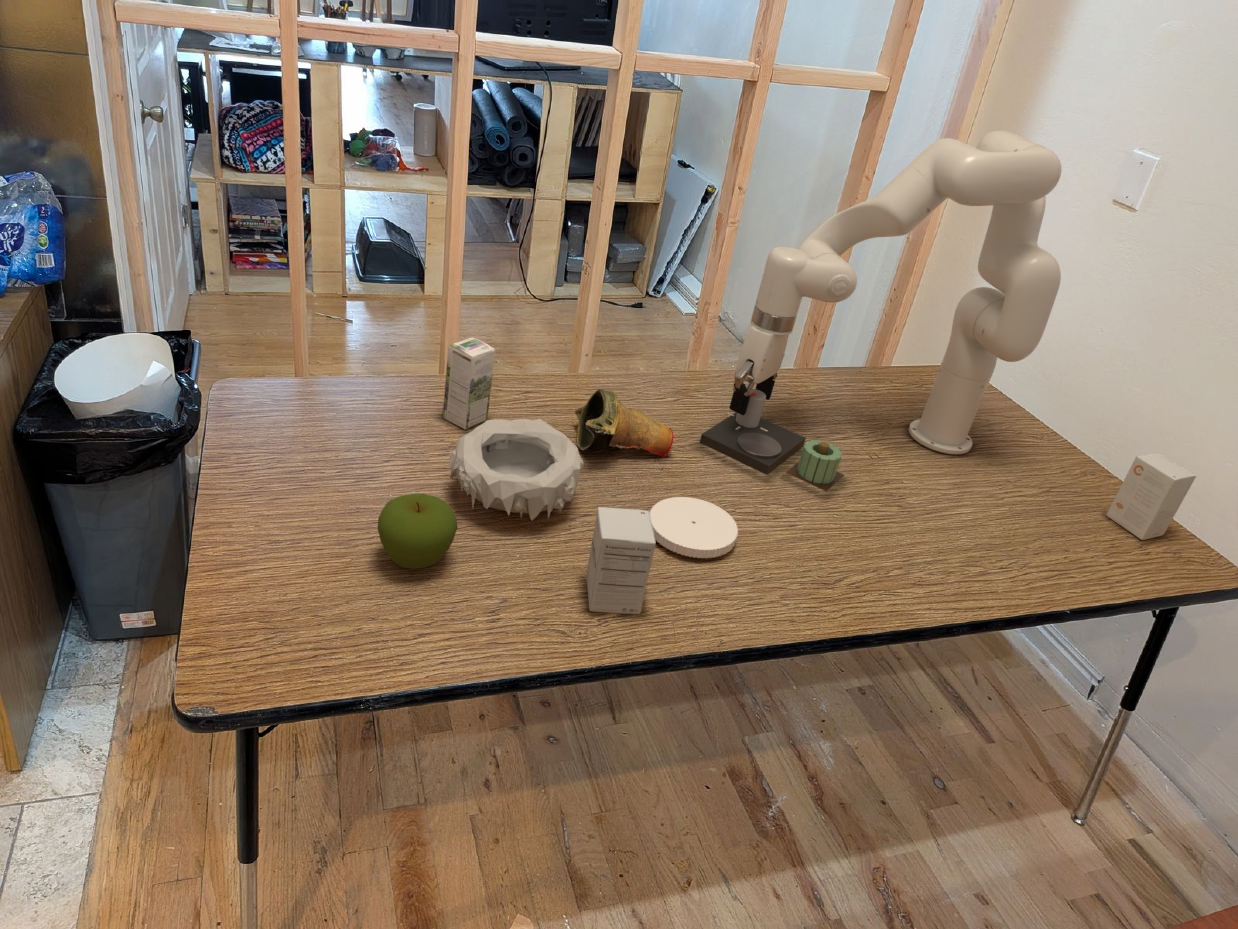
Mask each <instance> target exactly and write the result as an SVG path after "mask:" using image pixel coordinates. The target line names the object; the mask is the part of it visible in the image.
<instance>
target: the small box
mask: <svg viewBox="0 0 1238 929" xmlns="http://www.w3.org/2000/svg"><path fill="white" fill-rule="evenodd" d="M1196 478H1197V475H1196V474H1194V473H1193V472H1190V471H1189V470H1187V469H1186V468H1184V467H1182V466H1181V465H1179V464H1178V463H1175V462H1174V461H1172V460H1171V459H1169V458H1168V457H1166V456H1164V455H1162V454H1160V453H1159V452H1155V453H1149V454H1148V453H1147V454H1142V455H1136V456H1135V459H1134V460H1133V461H1132V464H1131V466H1130V468H1129V469H1128V472H1127V473H1126V476H1125V478H1124V479H1123V482H1122V483H1121V485H1120V487H1119V489H1118V491H1117V493H1116V495H1115V497H1114V498H1113V500H1112V502H1111V504H1110V506H1109V508H1108V510H1107V512H1106V514H1105V516H1106V517H1107V518H1109V519H1110V520H1111V521H1113V522H1114V523H1116V524H1117V525H1119V526H1121V527H1122V528H1123V529H1125V530H1126V531H1128V532H1129V533H1131V534H1132V535H1134V536H1135V537H1137V538H1138V539H1139V540H1141V541H1144V540H1148V539H1153V538H1157V537H1161V536H1164V535H1165V533H1166V532H1167V530H1168V528H1169V527H1170V524H1171V523H1172V522H1173V519H1174V517H1175V516H1176V514H1177V512H1178V510H1179V508H1180V507H1181V504H1182V503H1183V501H1184V500H1185V498H1186V496H1187V494H1188V492H1189V490H1190V489H1191V487H1192V485H1193V483H1194V482H1195V479H1196Z"/></svg>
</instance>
